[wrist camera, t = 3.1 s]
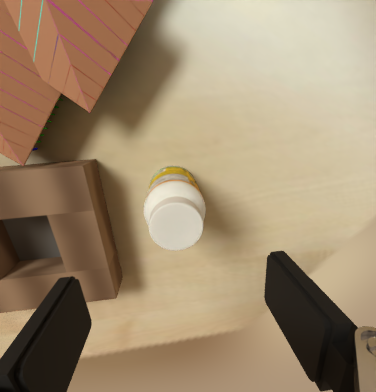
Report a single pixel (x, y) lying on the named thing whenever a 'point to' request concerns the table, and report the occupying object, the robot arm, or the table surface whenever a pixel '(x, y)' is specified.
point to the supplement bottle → (174, 209)
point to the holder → (54, 233)
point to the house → (57, 60)
